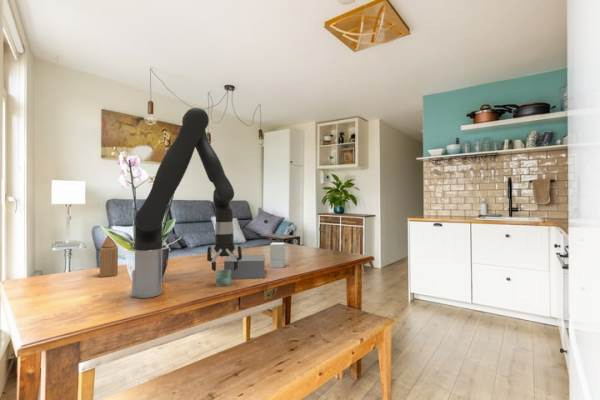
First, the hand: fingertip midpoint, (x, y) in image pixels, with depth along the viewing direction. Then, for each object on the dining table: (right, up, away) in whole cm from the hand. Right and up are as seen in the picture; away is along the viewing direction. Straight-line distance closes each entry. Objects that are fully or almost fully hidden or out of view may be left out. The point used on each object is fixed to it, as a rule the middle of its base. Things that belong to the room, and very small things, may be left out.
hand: (224, 270), depth 127 cm
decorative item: (-58, -6, +14) cm, 60 cm away
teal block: (-1, -6, 0) cm, 6 cm away
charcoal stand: (+6, -6, +17) cm, 19 cm away
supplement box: (+20, -6, +34) cm, 40 cm away
